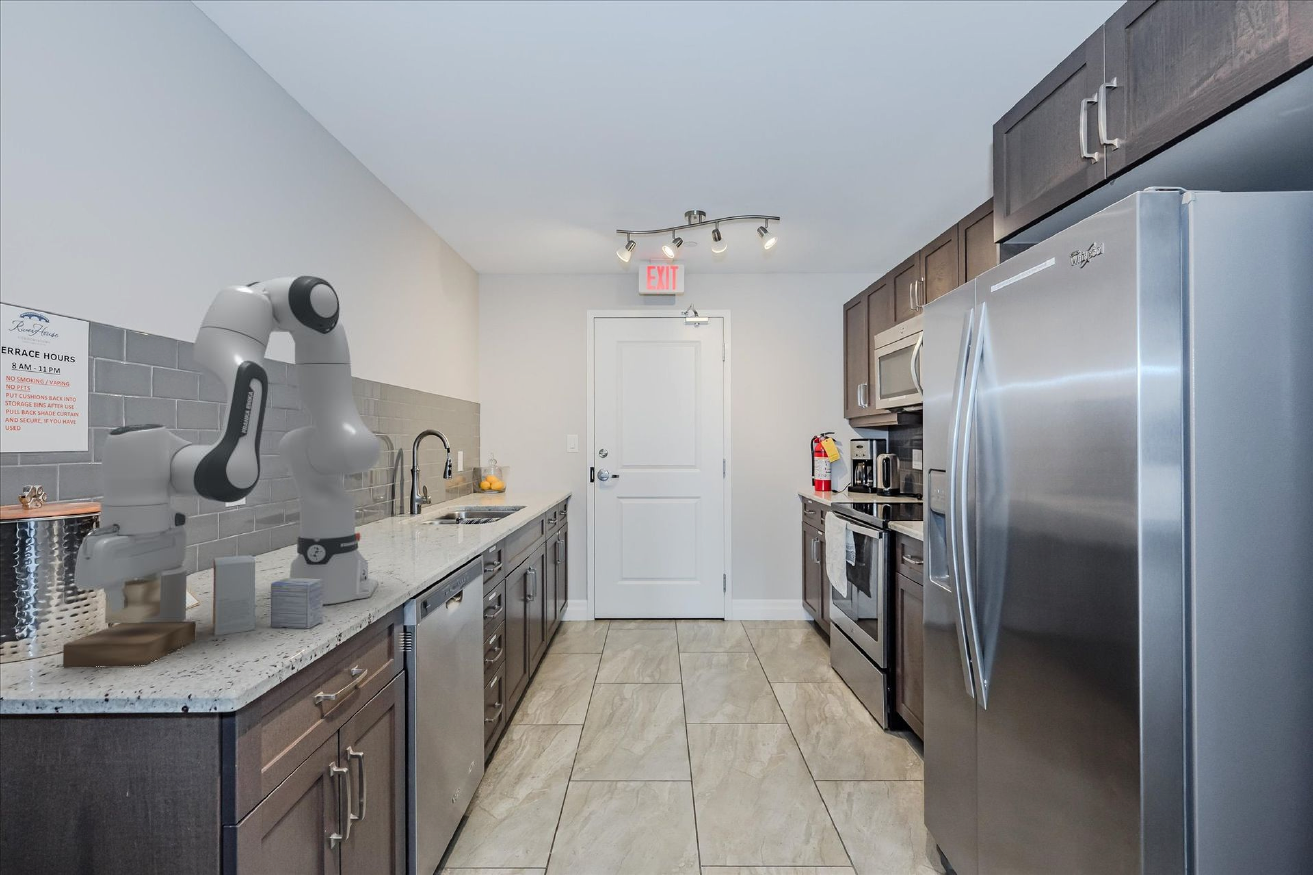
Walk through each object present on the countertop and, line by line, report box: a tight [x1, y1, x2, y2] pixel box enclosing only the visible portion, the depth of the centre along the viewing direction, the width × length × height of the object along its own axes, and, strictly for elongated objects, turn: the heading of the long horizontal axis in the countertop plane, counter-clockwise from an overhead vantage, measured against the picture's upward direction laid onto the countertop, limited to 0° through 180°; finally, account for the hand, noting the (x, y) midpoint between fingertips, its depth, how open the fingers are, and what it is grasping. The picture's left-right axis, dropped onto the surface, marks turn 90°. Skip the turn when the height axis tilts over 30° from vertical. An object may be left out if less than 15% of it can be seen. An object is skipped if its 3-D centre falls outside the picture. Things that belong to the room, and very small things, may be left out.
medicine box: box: [270, 577, 324, 629], centre depth 120 cm, size 8×4×9 cm, turn 84°
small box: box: [212, 554, 256, 637], centre depth 117 cm, size 8×6×13 cm
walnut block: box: [62, 620, 196, 668], centre depth 103 cm, size 12×12×4 cm
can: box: [137, 563, 188, 622], centre depth 118 cm, size 8×8×12 cm
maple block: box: [104, 579, 161, 624], centre depth 103 cm, size 5×5×6 cm
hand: (133, 604), depth 103 cm, fingers closed on maple block, 5 cm apart
